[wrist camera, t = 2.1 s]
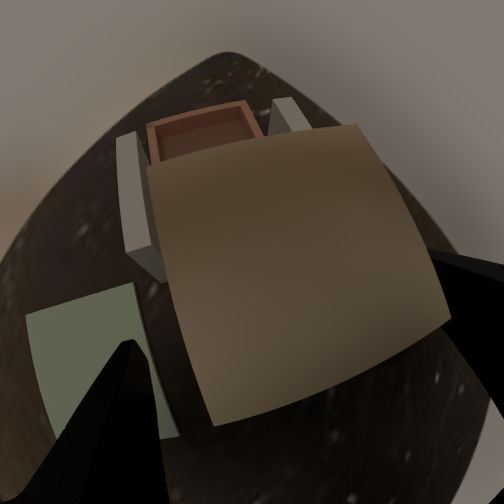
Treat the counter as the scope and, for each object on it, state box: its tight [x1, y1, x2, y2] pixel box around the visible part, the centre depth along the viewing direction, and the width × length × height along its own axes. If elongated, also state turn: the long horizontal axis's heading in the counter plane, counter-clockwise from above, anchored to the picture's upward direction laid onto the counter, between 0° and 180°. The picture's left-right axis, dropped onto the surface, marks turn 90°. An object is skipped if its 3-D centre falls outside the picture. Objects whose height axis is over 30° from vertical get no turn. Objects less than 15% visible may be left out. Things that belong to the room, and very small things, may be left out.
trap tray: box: [146, 100, 264, 165], centre depth 19 cm, size 5×8×2 cm, turn 108°
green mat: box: [26, 282, 180, 439], centre depth 14 cm, size 10×10×1 cm
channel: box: [116, 97, 312, 283], centre depth 15 cm, size 7×10×6 cm
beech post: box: [146, 124, 451, 426], centre depth 10 cm, size 5×5×12 cm
